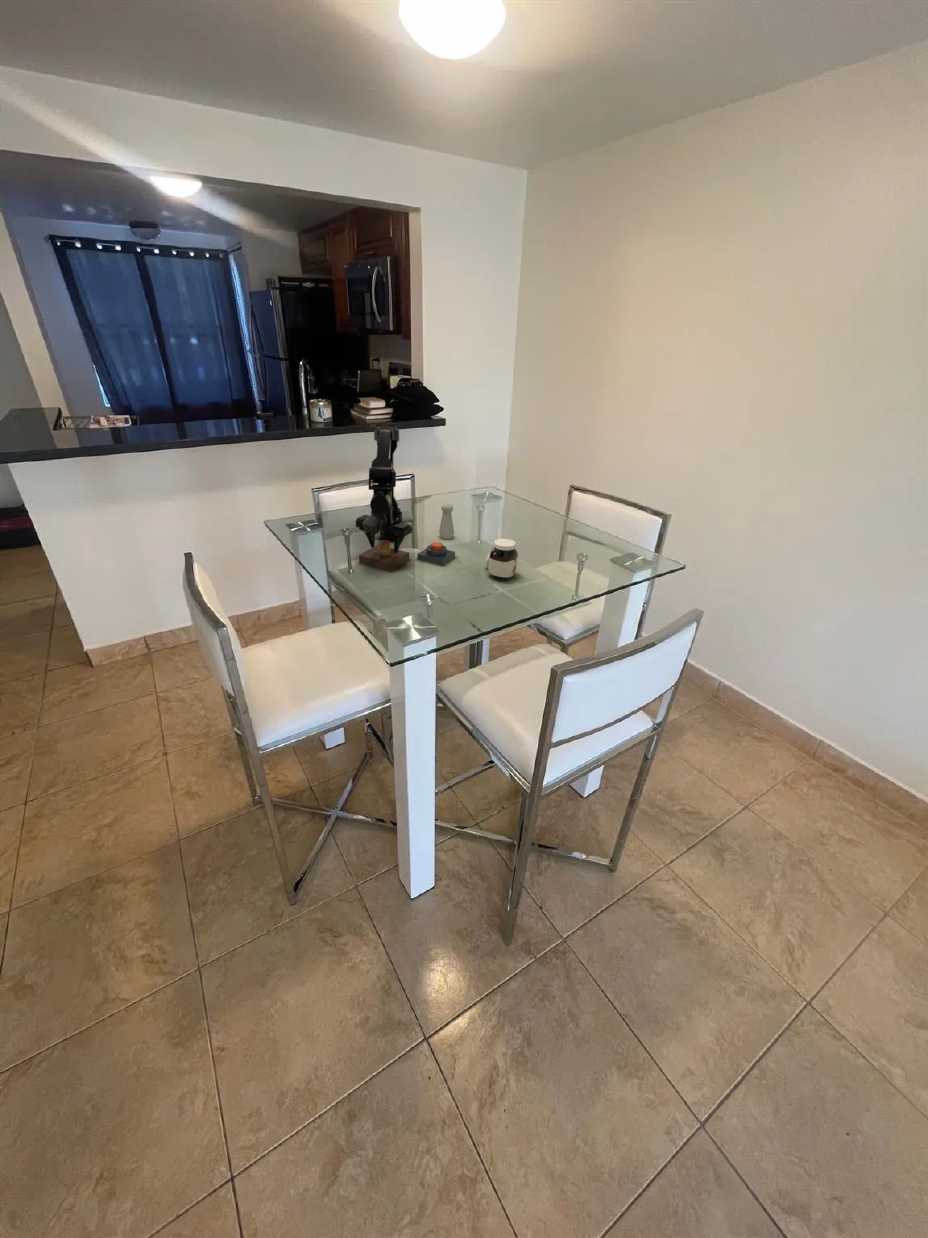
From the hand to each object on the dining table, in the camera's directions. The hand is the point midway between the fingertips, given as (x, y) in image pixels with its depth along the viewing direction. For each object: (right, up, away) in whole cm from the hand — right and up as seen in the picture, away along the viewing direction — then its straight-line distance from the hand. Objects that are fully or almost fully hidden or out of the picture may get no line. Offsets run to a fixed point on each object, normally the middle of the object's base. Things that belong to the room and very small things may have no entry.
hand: (384, 550), depth 171 cm
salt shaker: (+20, +8, +25) cm, 33 cm away
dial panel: (0, -4, +2) cm, 4 cm away
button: (+17, +1, +5) cm, 18 cm away
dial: (0, -1, +1) cm, 1 cm away
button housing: (+17, -2, +7) cm, 19 cm away
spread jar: (+38, -8, -2) cm, 39 cm away
